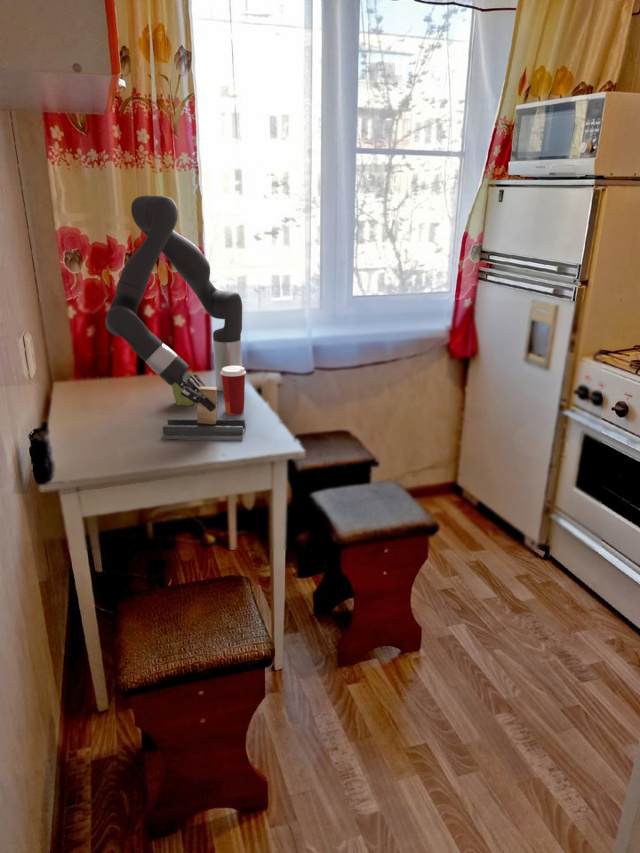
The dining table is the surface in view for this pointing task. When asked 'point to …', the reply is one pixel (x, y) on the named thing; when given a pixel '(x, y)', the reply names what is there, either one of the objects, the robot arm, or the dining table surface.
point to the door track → (204, 429)
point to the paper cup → (233, 389)
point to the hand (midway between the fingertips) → (214, 407)
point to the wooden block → (202, 411)
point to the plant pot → (180, 396)
